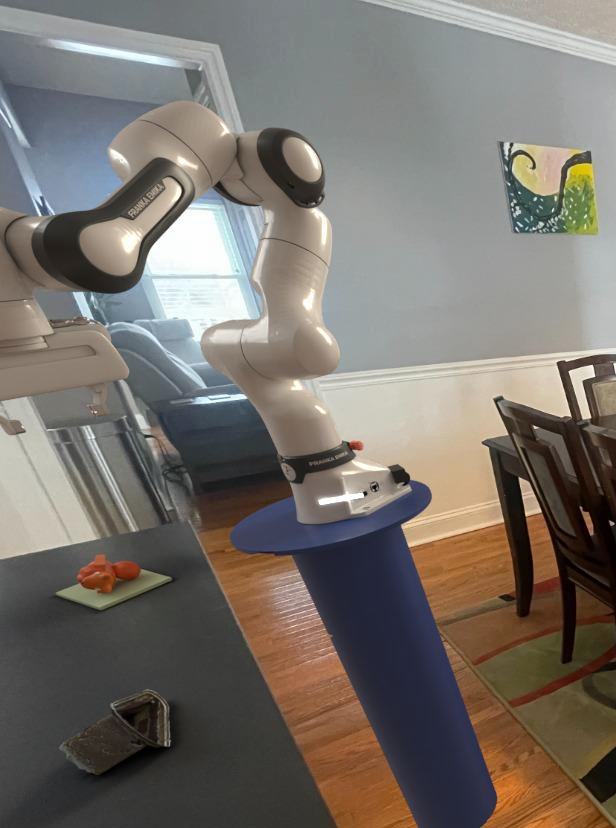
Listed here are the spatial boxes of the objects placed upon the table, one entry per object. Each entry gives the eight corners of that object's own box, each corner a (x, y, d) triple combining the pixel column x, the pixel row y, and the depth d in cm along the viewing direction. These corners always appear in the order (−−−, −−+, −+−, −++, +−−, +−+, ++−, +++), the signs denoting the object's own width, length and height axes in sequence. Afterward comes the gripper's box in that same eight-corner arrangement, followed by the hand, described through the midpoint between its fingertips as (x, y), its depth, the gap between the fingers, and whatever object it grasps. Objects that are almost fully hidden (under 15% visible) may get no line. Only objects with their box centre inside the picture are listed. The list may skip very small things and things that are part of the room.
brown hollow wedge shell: (94, 729, 72) (10, 725, 61) (158, 689, 75) (89, 678, 64) (141, 789, 72) (66, 796, 61) (204, 747, 75) (143, 746, 64)
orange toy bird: (76, 549, 102) (75, 572, 95) (138, 546, 108) (142, 568, 100) (79, 576, 104) (78, 601, 96) (140, 572, 109) (144, 596, 101)
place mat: (128, 567, 109) (127, 564, 109) (172, 580, 104) (171, 577, 104) (57, 595, 101) (54, 592, 101) (100, 610, 96) (98, 607, 96)
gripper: (87, 314, 90) (135, 405, 97) (-124, 336, 74) (-49, 443, 80) (110, 314, 88) (157, 407, 94) (-103, 337, 71) (-28, 447, 78)
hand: (61, 424), depth 87 cm, fingers open, 8 cm apart
